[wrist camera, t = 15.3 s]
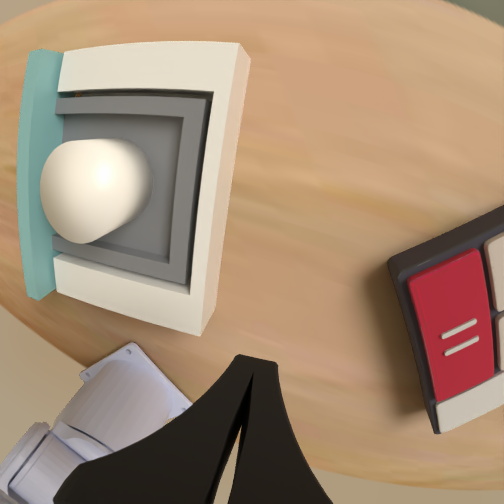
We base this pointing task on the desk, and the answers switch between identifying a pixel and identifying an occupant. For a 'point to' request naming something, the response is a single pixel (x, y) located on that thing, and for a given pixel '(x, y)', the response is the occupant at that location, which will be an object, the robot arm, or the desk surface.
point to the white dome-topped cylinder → (94, 187)
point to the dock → (212, 183)
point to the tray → (99, 127)
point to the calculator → (456, 318)
